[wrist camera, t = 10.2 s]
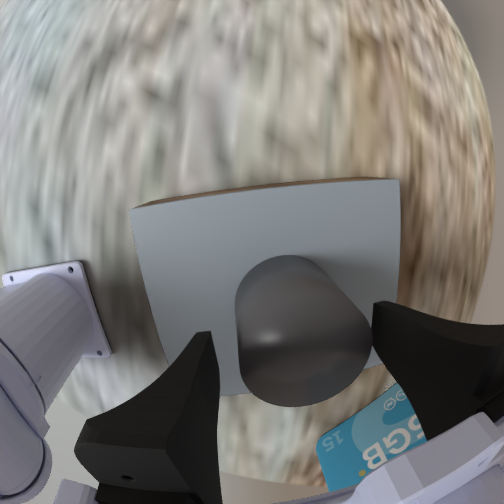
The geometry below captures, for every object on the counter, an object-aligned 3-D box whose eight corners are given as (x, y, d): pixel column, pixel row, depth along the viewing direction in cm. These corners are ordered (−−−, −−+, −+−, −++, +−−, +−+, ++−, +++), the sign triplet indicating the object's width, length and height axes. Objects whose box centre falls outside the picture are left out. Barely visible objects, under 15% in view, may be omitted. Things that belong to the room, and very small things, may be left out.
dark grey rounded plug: (242, 350, 15) (249, 415, 10) (227, 263, 14) (227, 311, 9) (331, 334, 15) (365, 390, 11) (330, 248, 14) (376, 285, 9)
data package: (406, 373, 23) (468, 454, 11) (417, 390, 24) (472, 462, 12) (311, 440, 24) (340, 531, 13) (332, 451, 25) (361, 531, 14)
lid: (182, 391, 17) (180, 398, 16) (133, 207, 13) (128, 210, 13) (382, 355, 17) (387, 362, 17) (391, 178, 14) (399, 179, 13)
